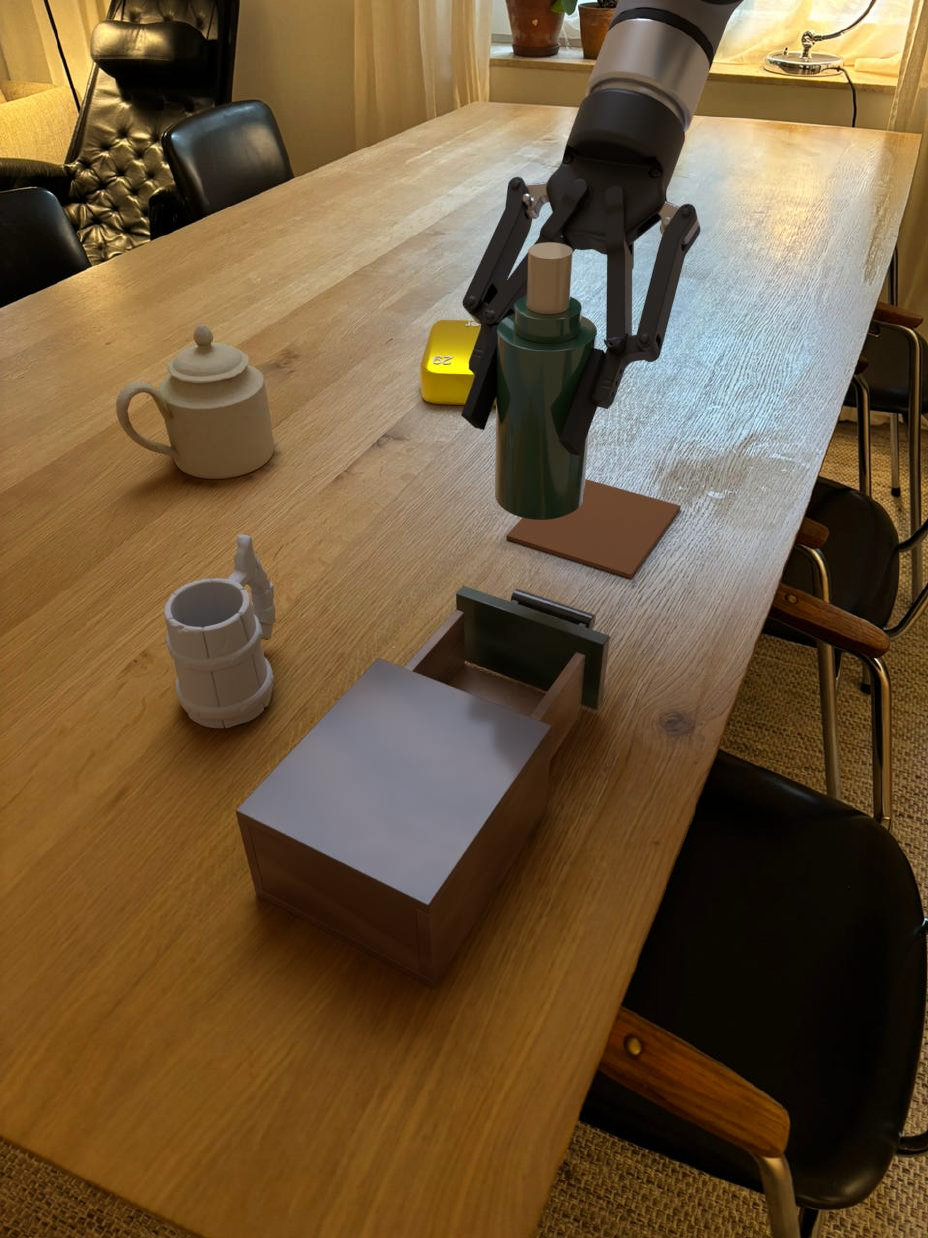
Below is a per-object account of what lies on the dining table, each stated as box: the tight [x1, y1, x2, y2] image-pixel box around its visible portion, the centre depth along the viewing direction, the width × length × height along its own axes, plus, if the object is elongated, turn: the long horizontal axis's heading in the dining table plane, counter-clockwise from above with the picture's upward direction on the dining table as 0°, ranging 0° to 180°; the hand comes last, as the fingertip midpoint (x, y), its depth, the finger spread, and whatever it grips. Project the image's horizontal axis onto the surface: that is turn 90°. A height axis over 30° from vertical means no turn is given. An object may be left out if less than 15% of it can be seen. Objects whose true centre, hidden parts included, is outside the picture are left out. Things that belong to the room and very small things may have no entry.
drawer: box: [402, 585, 611, 761], centre depth 75 cm, size 19×13×7 cm
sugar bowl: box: [115, 322, 275, 480], centre depth 103 cm, size 15×11×15 cm
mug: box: [163, 534, 276, 729], centre depth 78 cm, size 8×12×12 cm, turn 159°
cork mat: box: [505, 478, 681, 579], centre depth 98 cm, size 13×13×1 cm
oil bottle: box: [494, 242, 598, 520], centre depth 68 cm, size 7×7×18 cm
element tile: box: [419, 319, 496, 407], centre depth 121 cm, size 15×15×5 cm
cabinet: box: [235, 657, 552, 989], centre depth 66 cm, size 16×14×9 cm
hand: (520, 434), depth 67 cm, fingers closed on oil bottle, 7 cm apart
